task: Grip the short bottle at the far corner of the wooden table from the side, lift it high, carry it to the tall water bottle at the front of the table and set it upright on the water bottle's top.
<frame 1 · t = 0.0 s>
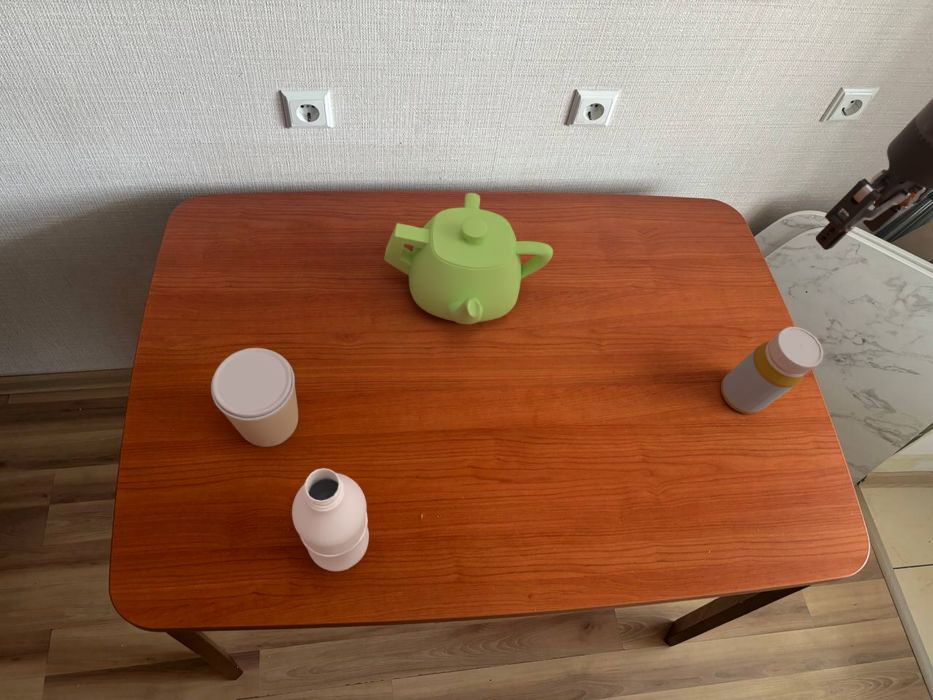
hand: (846, 235, 74), 25 cm above the table, tool pointing down, fingers open, 8 cm apart
coffee cup: (269, 420, 79), on the table
water bottle: (339, 544, 73), on the table
bottle: (740, 395, 91), on the table
teapot: (460, 295, 93), on the table
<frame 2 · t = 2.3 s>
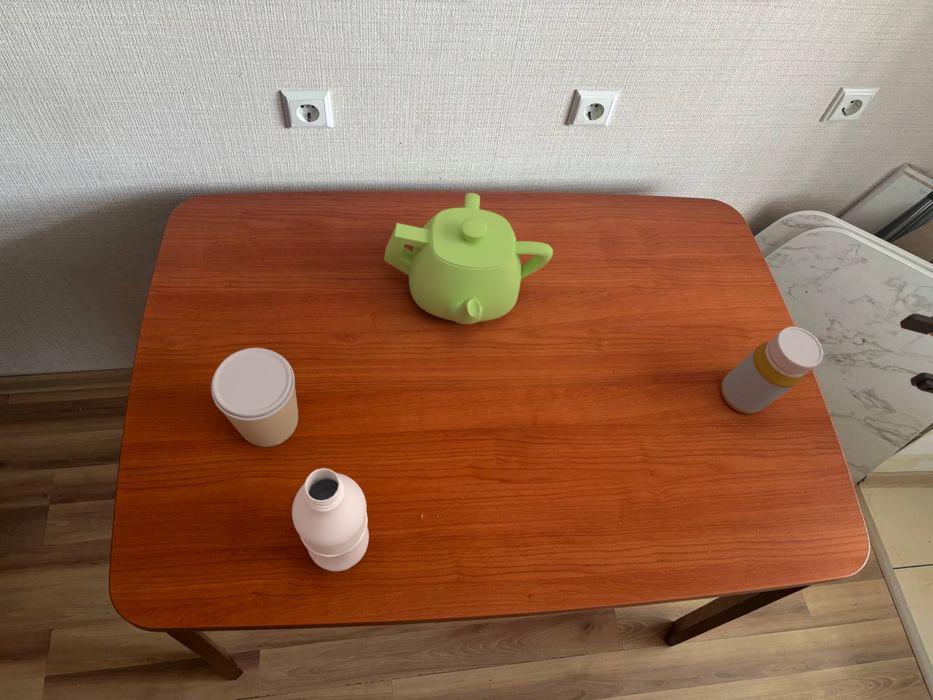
hand: (910, 348, 73), 20 cm above the table, tool horizontal, fingers open, 8 cm apart
nothing on the table moved.
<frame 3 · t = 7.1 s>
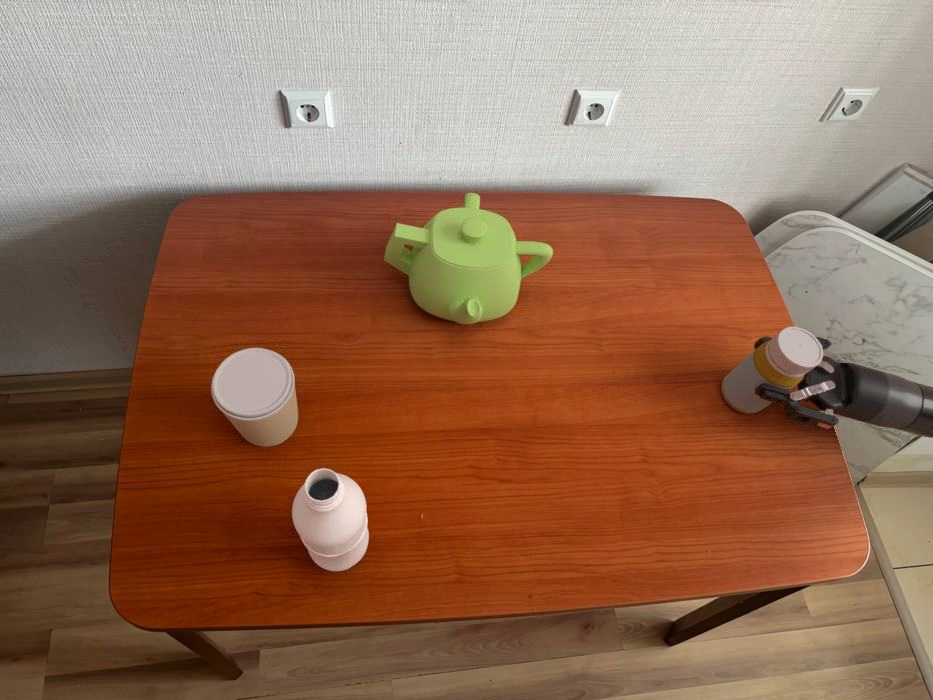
hand: (757, 365, 83), 8 cm above the table, tool horizontal, fingers closed on bottle, 7 cm apart
bottle: (740, 395, 91), on the table, touching gripper
everything else where it was.
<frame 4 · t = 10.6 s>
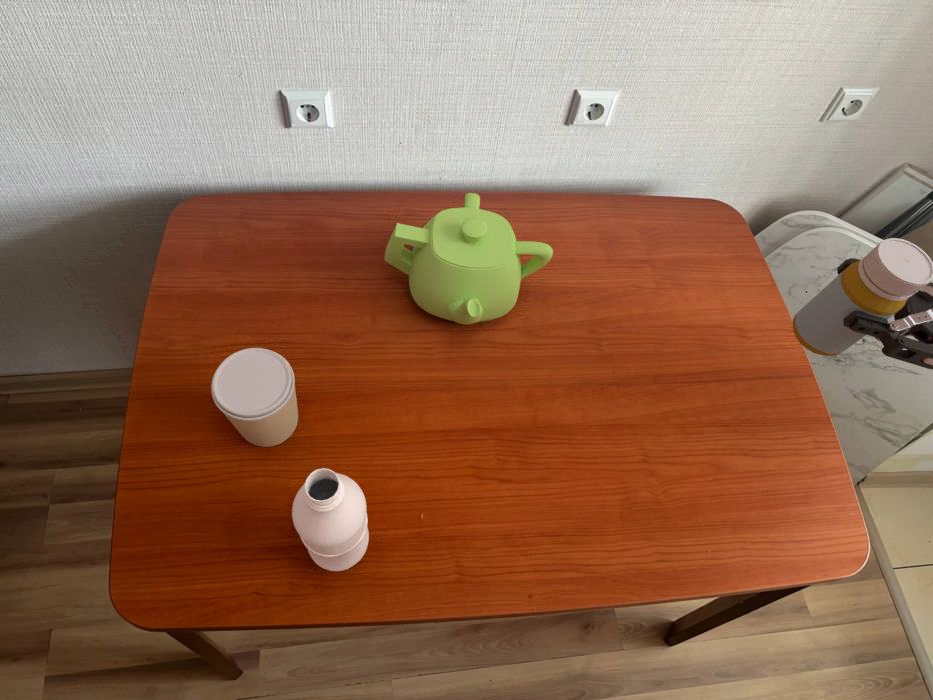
hand: (844, 291, 67), 27 cm above the table, tool horizontal, fingers closed on bottle, 7 cm apart
bottle: (815, 335, 75), point 18 cm above the table, touching gripper
everything else where it was.
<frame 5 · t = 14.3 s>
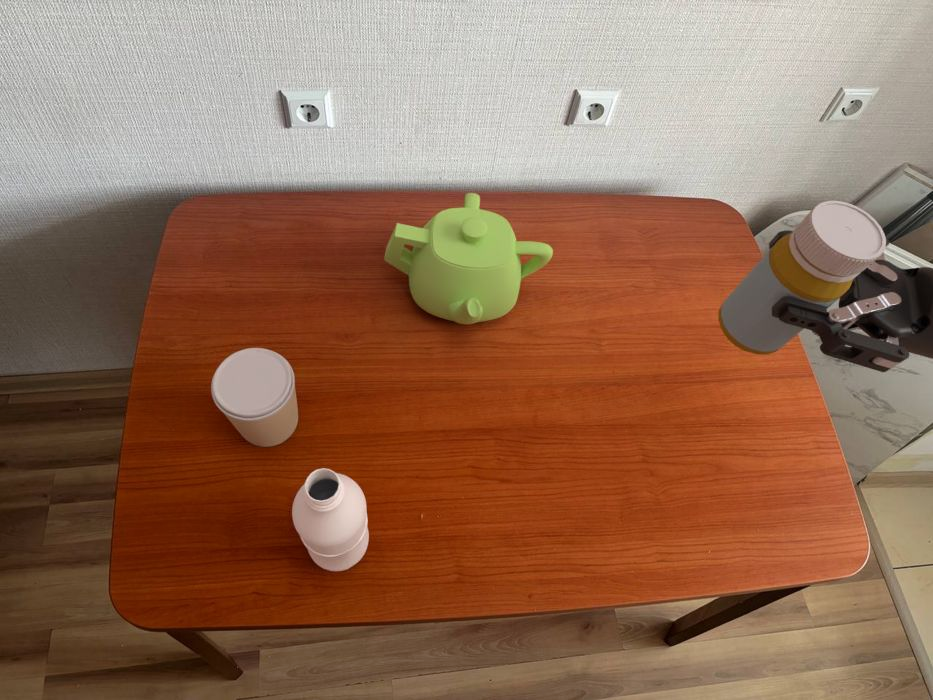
hand: (775, 271, 53), 38 cm above the table, tool horizontal, fingers closed on bottle, 7 cm apart
bottle: (747, 328, 60), point 29 cm above the table, touching gripper
everything else where it was.
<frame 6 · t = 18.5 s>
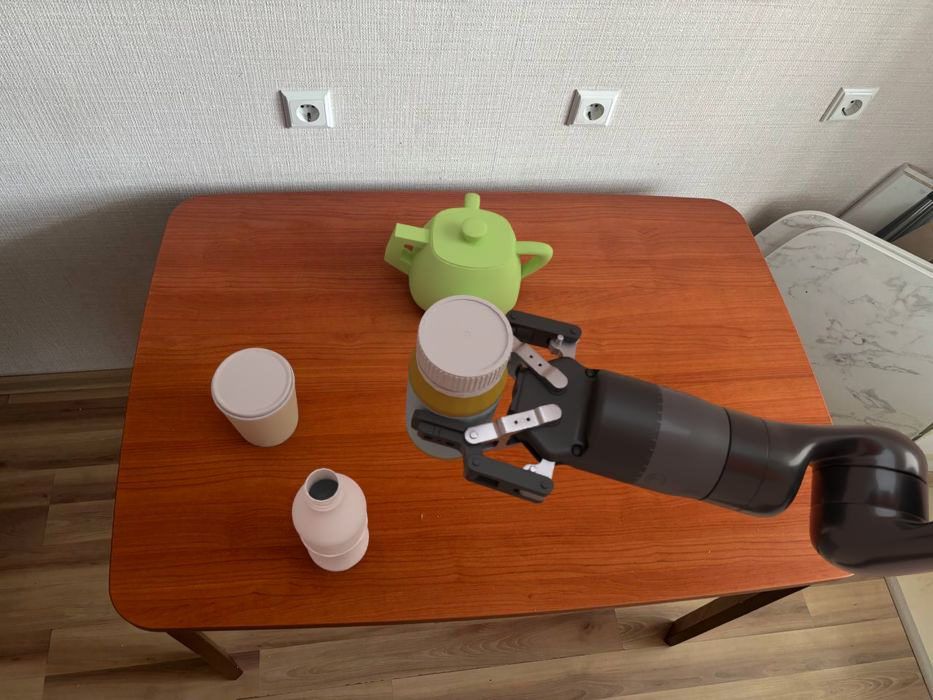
hand: (428, 372, 43), 38 cm above the table, tool horizontal, fingers closed on bottle, 7 cm apart
bottle: (446, 424, 51), point 29 cm above the table, touching gripper
everything else where it was.
when the fingers open (33 cm above the table, at t = 21.7 s): bottle stays where it is, resting on water bottle.
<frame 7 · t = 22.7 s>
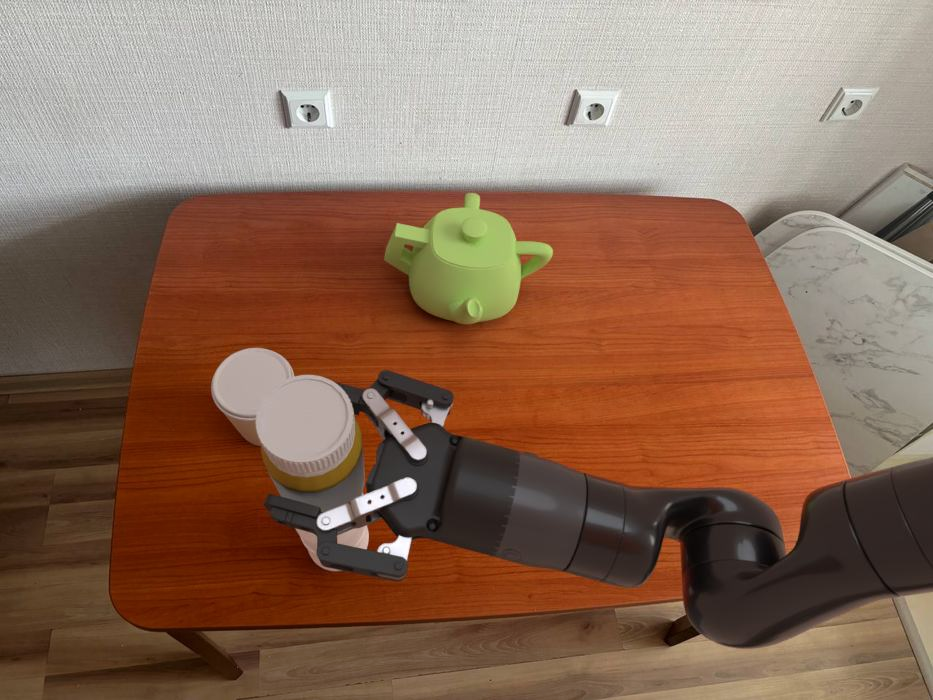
hand: (290, 444, 42), 35 cm above the table, tool horizontal, fingers open, 8 cm apart
water bottle: (339, 544, 73), on the table, touching bottle
bottle: (324, 484, 51), point 25 cm above the table, touching gripper, water bottle
everything else where it was.
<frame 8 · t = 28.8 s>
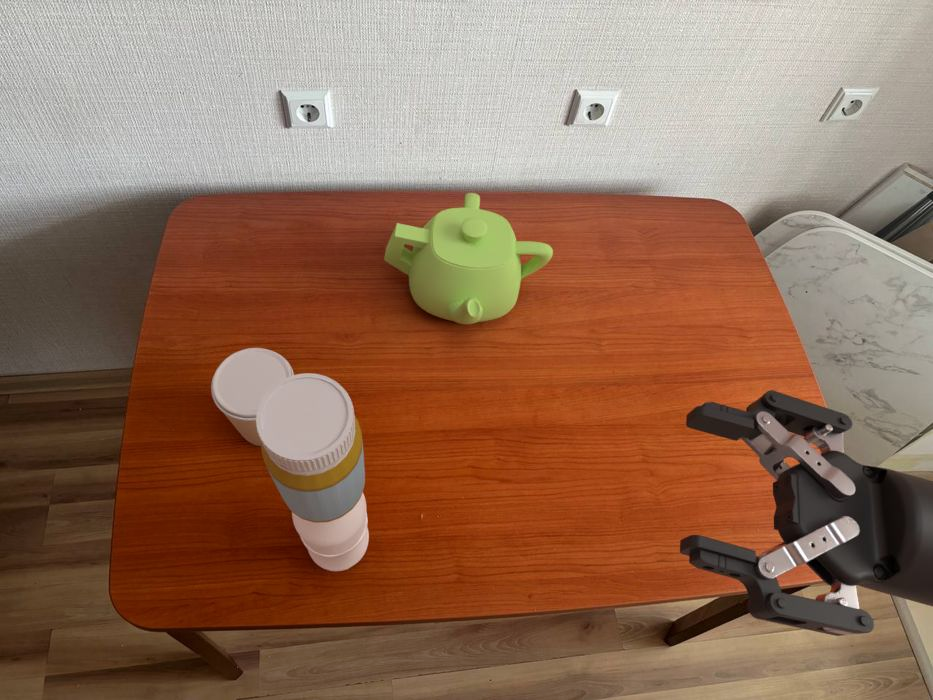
hand: (688, 475, 37), 42 cm above the table, tool horizontal, fingers open, 8 cm apart
bottle: (324, 484, 51), point 25 cm above the table, touching water bottle
everything else where it was.
at the end: bottle 0.2 cm off-centre on the water bottle, point 25.0 cm above the water bottle's base; bottle tilted 0°; water bottle tilted 0° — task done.
